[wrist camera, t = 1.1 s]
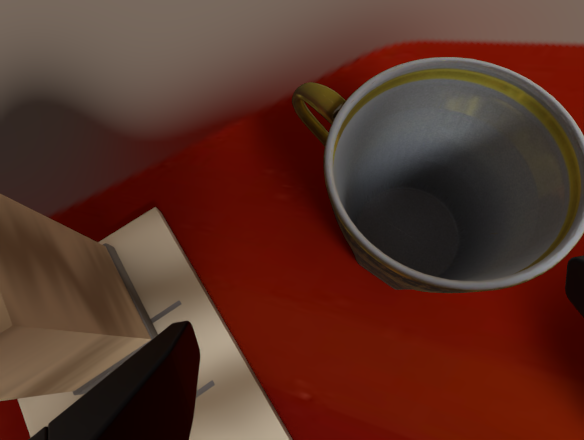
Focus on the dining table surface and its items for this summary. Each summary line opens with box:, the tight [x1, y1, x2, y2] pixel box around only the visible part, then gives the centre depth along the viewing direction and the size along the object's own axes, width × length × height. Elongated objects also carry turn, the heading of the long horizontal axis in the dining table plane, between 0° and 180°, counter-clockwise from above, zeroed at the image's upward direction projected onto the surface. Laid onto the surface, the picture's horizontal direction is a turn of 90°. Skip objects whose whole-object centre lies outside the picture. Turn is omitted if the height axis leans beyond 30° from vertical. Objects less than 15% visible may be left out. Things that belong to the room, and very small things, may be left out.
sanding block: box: [0, 194, 158, 401], centre depth 18 cm, size 7×5×11 cm
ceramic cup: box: [292, 57, 584, 293], centre depth 20 cm, size 13×10×10 cm
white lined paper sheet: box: [18, 207, 292, 440], centre depth 21 cm, size 23×12×1 cm, turn 34°
